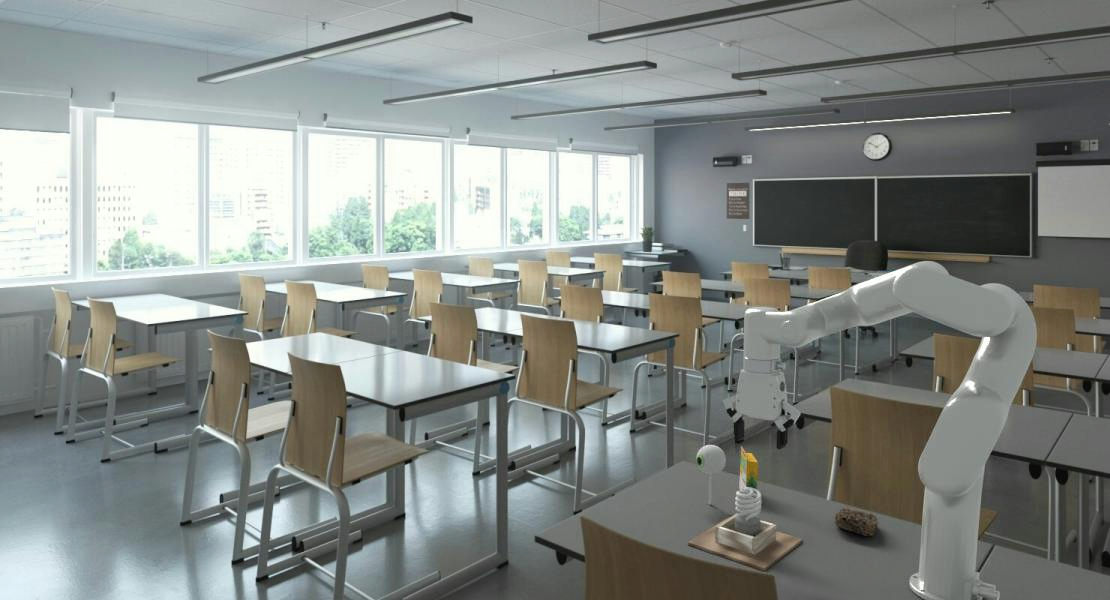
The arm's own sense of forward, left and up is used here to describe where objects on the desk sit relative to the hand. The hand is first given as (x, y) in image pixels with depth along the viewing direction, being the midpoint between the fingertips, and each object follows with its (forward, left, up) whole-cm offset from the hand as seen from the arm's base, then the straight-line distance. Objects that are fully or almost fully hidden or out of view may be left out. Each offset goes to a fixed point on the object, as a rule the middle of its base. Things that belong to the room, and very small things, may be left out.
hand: (759, 443), depth 169 cm
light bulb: (+1, +2, -22) cm, 22 cm away
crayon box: (+15, -24, -23) cm, 36 cm away
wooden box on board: (+2, +2, -23) cm, 23 cm away
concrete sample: (-14, -21, -23) cm, 34 cm away
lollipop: (+19, -12, -23) cm, 32 cm away
